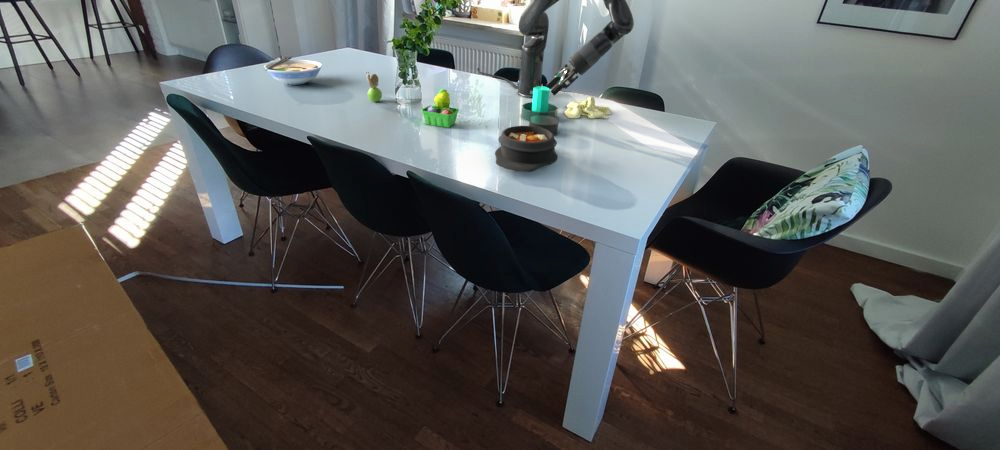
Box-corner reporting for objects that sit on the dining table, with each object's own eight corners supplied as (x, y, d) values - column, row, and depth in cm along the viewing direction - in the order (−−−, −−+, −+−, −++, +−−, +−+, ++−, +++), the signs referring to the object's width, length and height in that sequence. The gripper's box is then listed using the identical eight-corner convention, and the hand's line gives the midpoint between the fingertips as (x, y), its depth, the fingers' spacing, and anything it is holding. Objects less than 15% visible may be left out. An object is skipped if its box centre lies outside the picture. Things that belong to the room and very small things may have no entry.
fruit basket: (420, 124, 165) (419, 91, 159) (432, 117, 172) (431, 86, 167) (450, 129, 162) (450, 96, 156) (461, 122, 169) (461, 90, 164)
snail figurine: (363, 102, 185) (360, 70, 178) (373, 98, 190) (370, 67, 184) (375, 104, 183) (373, 72, 177) (385, 100, 188) (382, 69, 182)
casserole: (543, 182, 128) (546, 153, 124) (480, 170, 134) (481, 141, 129) (566, 152, 149) (570, 126, 144) (510, 142, 154) (512, 117, 150)
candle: (536, 119, 175) (539, 86, 169) (528, 114, 180) (530, 82, 174) (550, 117, 178) (553, 85, 172) (541, 113, 182) (544, 81, 176)
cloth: (572, 101, 199) (574, 87, 196) (616, 109, 193) (618, 94, 189) (554, 115, 181) (556, 99, 178) (601, 124, 175) (604, 107, 172)
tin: (515, 114, 181) (515, 104, 179) (543, 110, 187) (544, 100, 185) (534, 124, 171) (535, 114, 169) (563, 120, 177) (565, 110, 175)
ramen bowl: (312, 91, 194) (309, 71, 190) (256, 89, 194) (252, 68, 190) (332, 77, 216) (329, 58, 212) (281, 75, 216) (278, 56, 212)
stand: (521, 128, 166) (522, 117, 164) (546, 124, 171) (547, 113, 169) (538, 138, 159) (539, 126, 157) (564, 134, 163) (565, 122, 161)
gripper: (574, 46, 174) (540, 78, 179) (583, 54, 162) (547, 87, 166) (586, 62, 177) (552, 92, 182) (596, 70, 165) (560, 103, 170)
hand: (550, 90), depth 174 cm, fingers open, 8 cm apart
